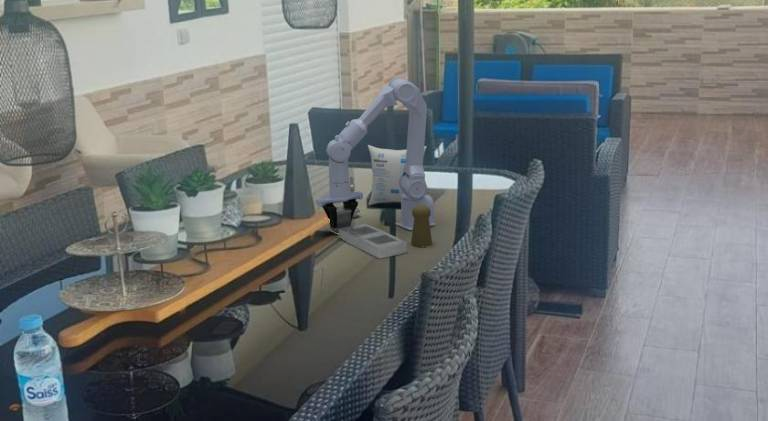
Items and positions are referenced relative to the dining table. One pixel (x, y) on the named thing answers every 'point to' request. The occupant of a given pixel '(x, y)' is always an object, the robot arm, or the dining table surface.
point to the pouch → (386, 174)
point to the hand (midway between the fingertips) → (340, 226)
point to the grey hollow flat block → (373, 240)
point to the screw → (351, 189)
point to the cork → (421, 226)
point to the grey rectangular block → (342, 218)
